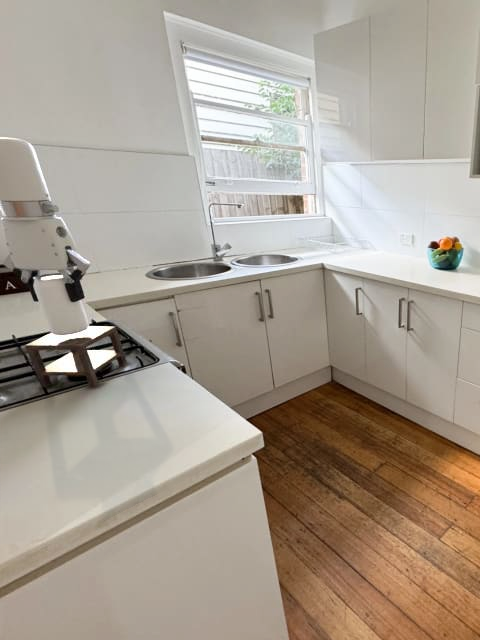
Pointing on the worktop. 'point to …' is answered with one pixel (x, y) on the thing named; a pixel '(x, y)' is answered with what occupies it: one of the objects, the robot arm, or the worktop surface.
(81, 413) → the worktop surface
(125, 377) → the worktop surface
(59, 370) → the shelf
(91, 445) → the worktop surface
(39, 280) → the can
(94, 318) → the worktop surface
